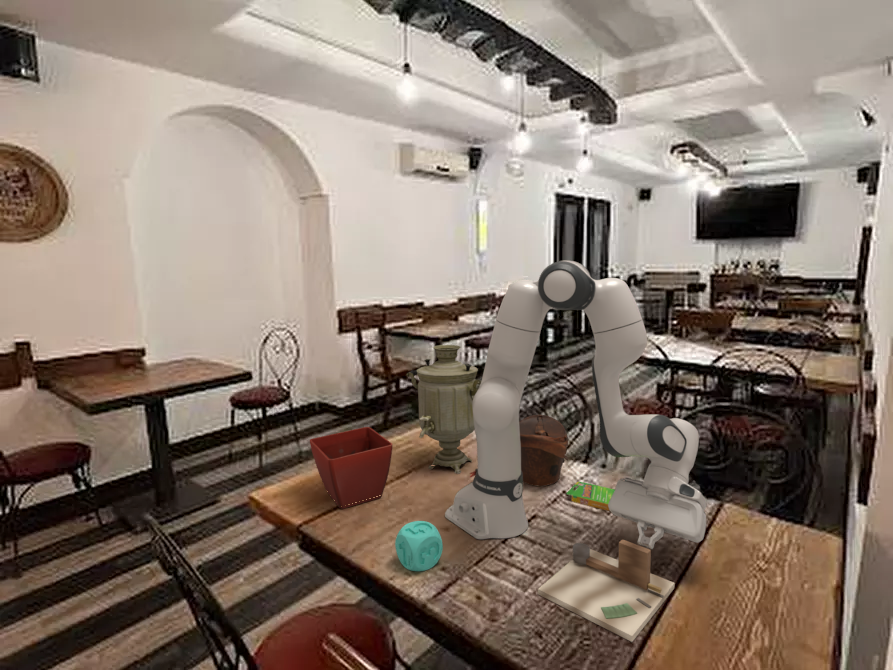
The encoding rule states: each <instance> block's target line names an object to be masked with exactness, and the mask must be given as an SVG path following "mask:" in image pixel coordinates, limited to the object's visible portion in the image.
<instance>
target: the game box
mask: <svg viewBox="0 0 893 670" xmlns="http://www.w3.org/2000/svg"><path fill="white" fill-rule="evenodd" d="M614 491H615V489H613V488H610V487H605V486H601V485H597V484H592V483H588V482H582V481H577V482H575V483H574V485H573V486H572V487H571V488H570V489H568V490H567V492H566V495H567V496H571V503H575V504H580V505H583V506H587V507H592V508H596V509H599V510H604V511H607V512H611V511H610V510H609V507H608V504H609V501H610V499H611V497H612V495H613V493H614Z"/></svg>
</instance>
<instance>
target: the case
mask: <svg viewBox="0 0 893 670" xmlns="http://www.w3.org/2000/svg"><path fill="white" fill-rule="evenodd" d="M519 429H520V442H521V471H522V473H523V483H525V484H527V485H531V486H534V487H536V486H537V487H543V486H544V487H546V486H550V485H554V484H555V483H557V482H558V481H559V479H560V478H561V477H560V476H561V472H562V467H563V464H565V460H566V461H569V458H568V456H566V455H567V449H568V446H569V436H568V433H567V431H566V429H565V427H564V425H563V424H562V423H561V422H560V421H558V420H557V419H555V418H553V417H551V416H550V415H549V416H548V415H546V414H533V415H529V416H527V417H524V418H523V419H521V420H519Z"/></svg>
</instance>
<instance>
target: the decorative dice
mask: <svg viewBox="0 0 893 670" xmlns="http://www.w3.org/2000/svg"><path fill="white" fill-rule="evenodd" d="M443 544H444V543H443V539H442V536H441V534H440V532H439V530H438V528H437V527H436V526H435V525H434V524H432V523H431V522H429V521H426V520H425V521H424V520H415V521H411V522H408V523H405V525H403V526H402V527H401V529H400V530H399V531H398V532H397V535H396V537H395V541H394V545H395V546H394V547H395V551H396V555H397V558H398V560H399V562H400V563H401V565H402V566H403V567H404V568H405V569H406V570H408V571H412V572H425V571H428V570H430V569H432V568H434V566H435V565H437V563H438V562H439V560H440V559H441V557H442V553H443V547H444V545H443Z"/></svg>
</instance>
